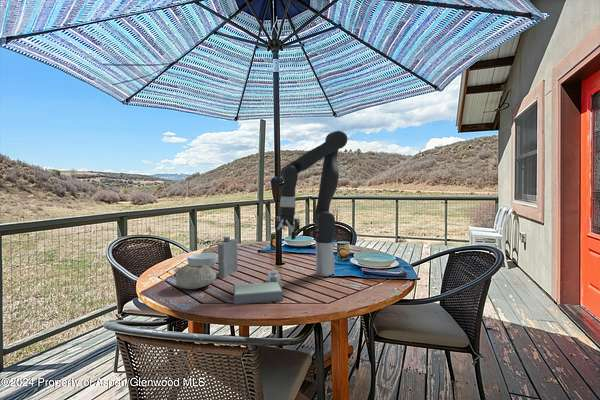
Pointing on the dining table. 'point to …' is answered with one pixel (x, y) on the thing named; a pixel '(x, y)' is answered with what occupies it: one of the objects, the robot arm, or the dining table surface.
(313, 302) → the dining table surface
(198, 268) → the beige squat rounded piece
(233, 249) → the hip flask
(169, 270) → the dining table surface
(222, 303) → the dining table surface
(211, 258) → the cereal bowl
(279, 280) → the housing
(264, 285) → the stand
